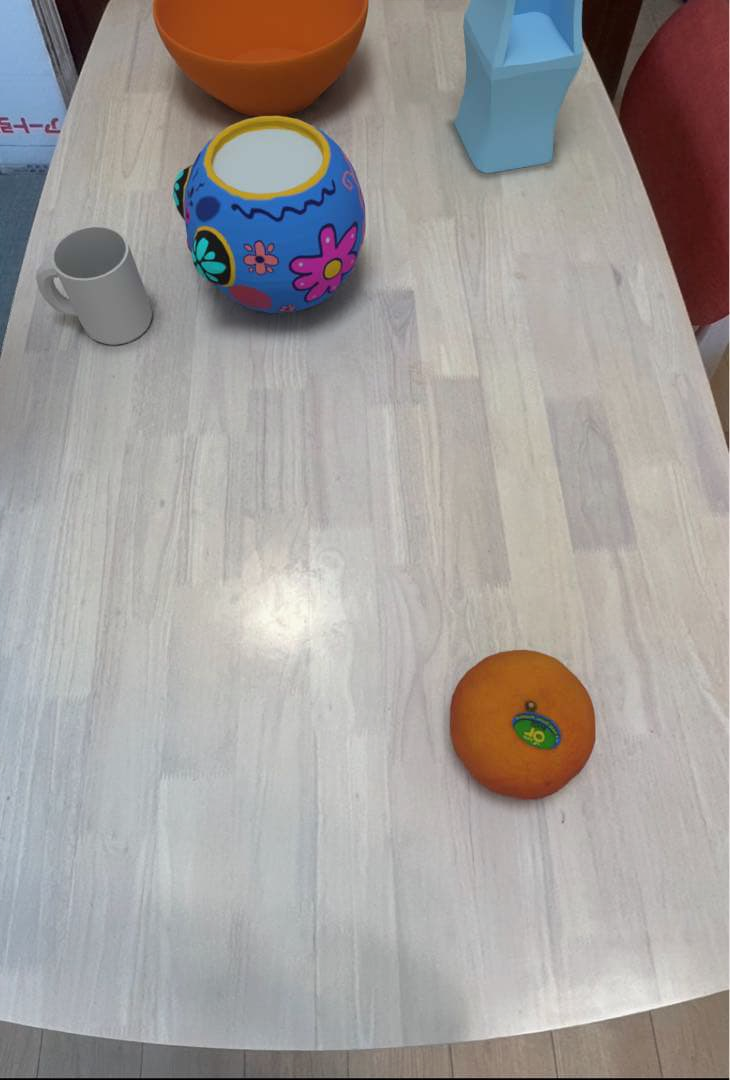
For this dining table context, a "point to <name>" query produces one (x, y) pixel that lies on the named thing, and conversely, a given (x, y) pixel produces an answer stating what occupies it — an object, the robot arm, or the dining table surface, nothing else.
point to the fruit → (522, 724)
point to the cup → (97, 284)
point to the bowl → (262, 48)
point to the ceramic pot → (272, 213)
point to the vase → (516, 79)
